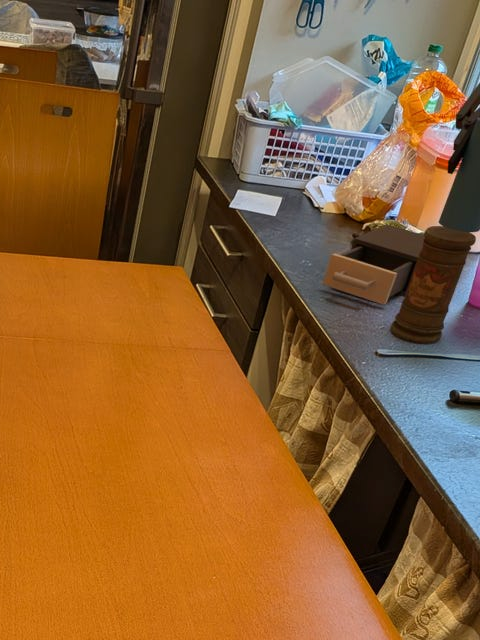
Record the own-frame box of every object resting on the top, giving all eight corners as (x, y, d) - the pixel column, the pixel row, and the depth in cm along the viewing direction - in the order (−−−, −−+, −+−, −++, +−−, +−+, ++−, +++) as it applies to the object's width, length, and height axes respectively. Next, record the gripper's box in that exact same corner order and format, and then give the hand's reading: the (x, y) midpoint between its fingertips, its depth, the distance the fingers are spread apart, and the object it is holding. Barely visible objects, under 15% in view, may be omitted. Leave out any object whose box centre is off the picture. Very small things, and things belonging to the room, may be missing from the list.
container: (398, 321, 176) (432, 221, 164) (445, 334, 172) (484, 233, 160) (383, 334, 170) (417, 232, 158) (432, 348, 166) (470, 244, 155)
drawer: (375, 309, 177) (386, 278, 173) (313, 289, 183) (322, 258, 179) (414, 287, 189) (425, 258, 185) (354, 269, 195) (364, 239, 191)
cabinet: (407, 298, 187) (422, 258, 182) (341, 276, 193) (354, 238, 188) (437, 280, 197) (452, 242, 192) (374, 261, 203) (386, 224, 198)
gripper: (615, 74, 140) (534, 205, 141) (488, 51, 149) (412, 174, 150) (625, 34, 134) (540, 172, 134) (492, 12, 143) (412, 141, 143)
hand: (472, 173), depth 142 cm, fingers closed on bottle, 6 cm apart
